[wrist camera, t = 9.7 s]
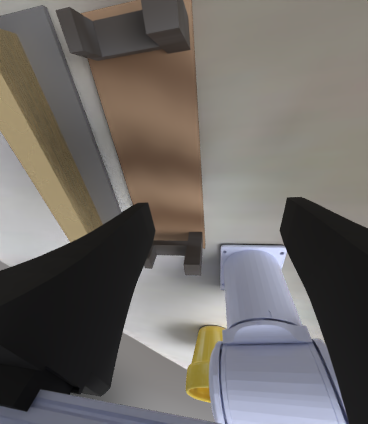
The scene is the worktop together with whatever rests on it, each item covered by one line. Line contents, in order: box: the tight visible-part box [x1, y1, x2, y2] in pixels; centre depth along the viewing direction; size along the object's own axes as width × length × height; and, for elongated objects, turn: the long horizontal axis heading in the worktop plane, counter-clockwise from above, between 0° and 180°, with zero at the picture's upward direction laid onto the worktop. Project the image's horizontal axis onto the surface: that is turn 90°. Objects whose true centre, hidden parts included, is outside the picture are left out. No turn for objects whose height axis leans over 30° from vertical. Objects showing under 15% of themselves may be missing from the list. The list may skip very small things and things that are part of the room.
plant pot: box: [186, 325, 225, 403], centre depth 33 cm, size 10×10×10 cm
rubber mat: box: [0, 5, 121, 224], centre depth 20 cm, size 24×9×1 cm, turn 6°
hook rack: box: [56, 0, 205, 276], centre depth 16 cm, size 22×8×6 cm, turn 6°
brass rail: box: [0, 29, 103, 243], centre depth 18 cm, size 22×3×3 cm, turn 6°
